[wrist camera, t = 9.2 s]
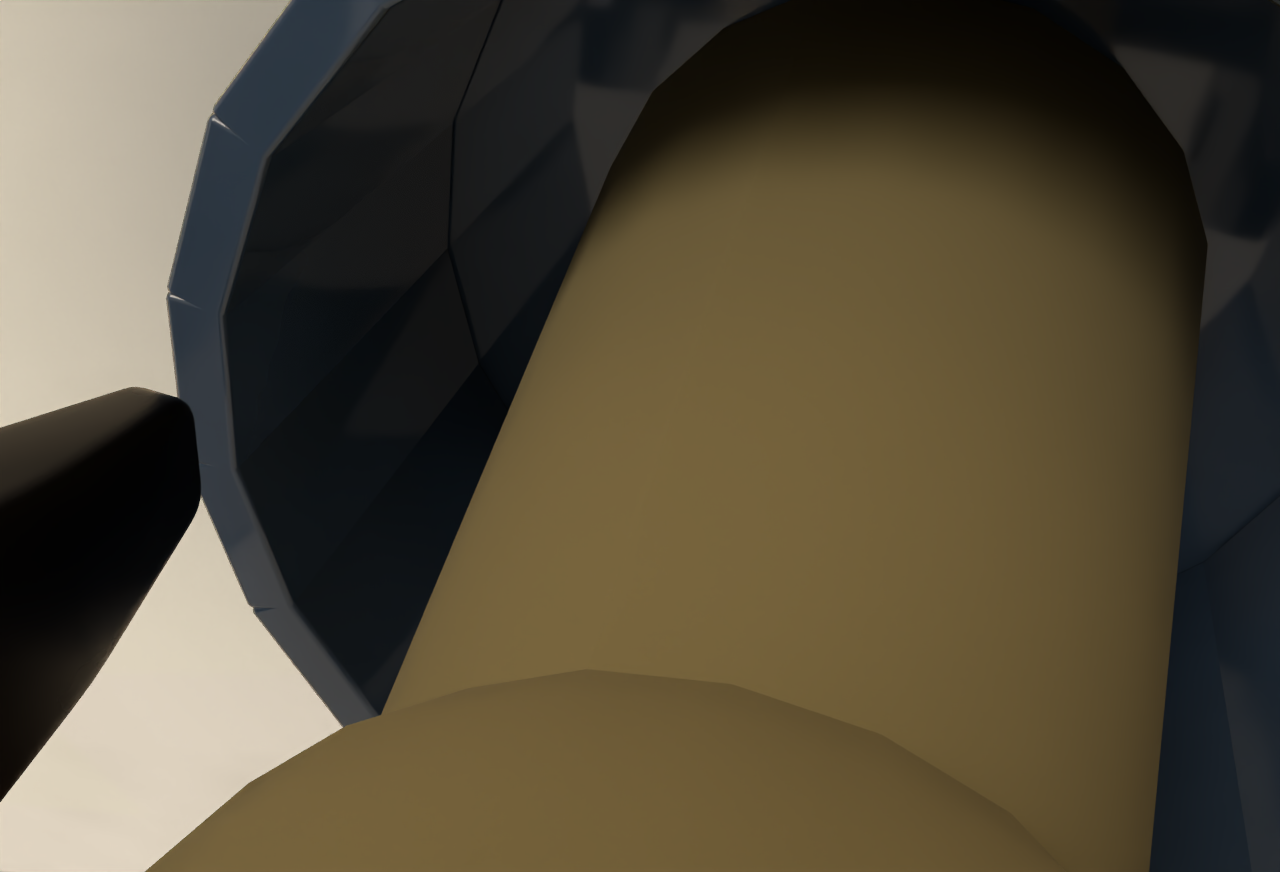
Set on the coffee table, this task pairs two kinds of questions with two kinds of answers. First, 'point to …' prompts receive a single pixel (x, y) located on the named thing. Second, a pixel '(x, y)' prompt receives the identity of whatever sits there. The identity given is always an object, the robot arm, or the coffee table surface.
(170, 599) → the coffee table surface
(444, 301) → the blue-grey round bowl
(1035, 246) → the brown cylinder with knob
